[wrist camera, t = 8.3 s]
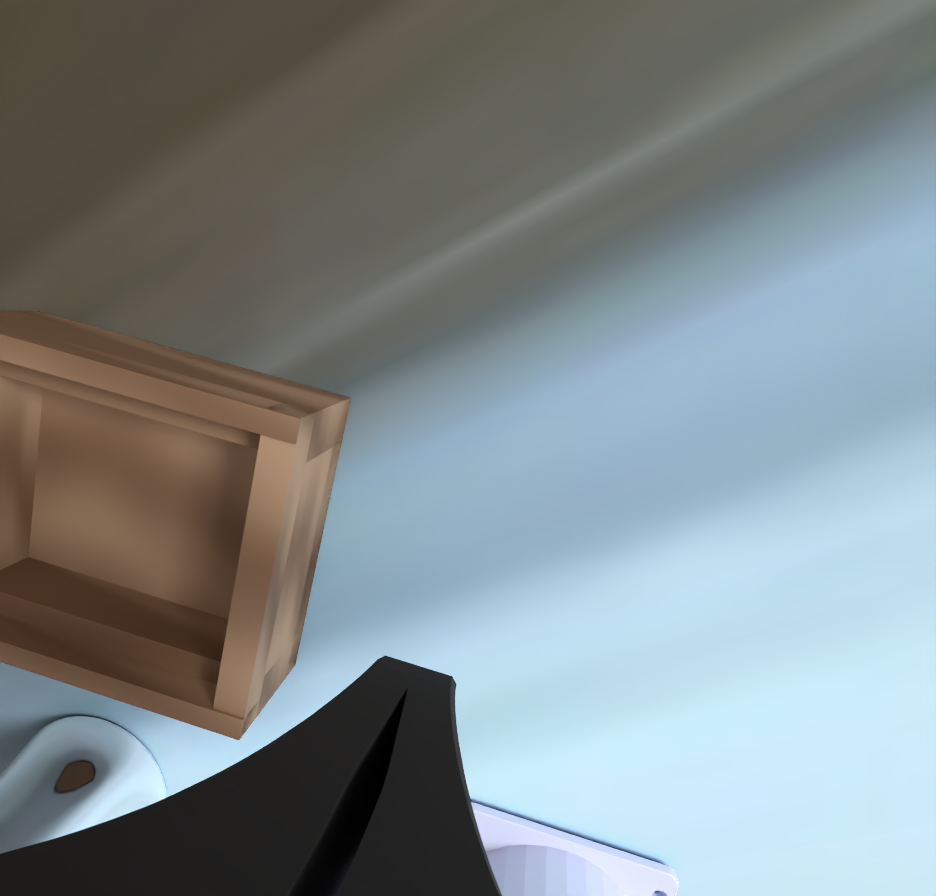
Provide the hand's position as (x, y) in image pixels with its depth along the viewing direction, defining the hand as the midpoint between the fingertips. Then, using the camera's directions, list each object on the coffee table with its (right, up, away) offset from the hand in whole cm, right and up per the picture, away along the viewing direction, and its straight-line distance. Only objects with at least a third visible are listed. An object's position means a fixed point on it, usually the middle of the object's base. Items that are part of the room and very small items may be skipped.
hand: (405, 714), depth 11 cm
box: (-9, +3, +11) cm, 15 cm away
